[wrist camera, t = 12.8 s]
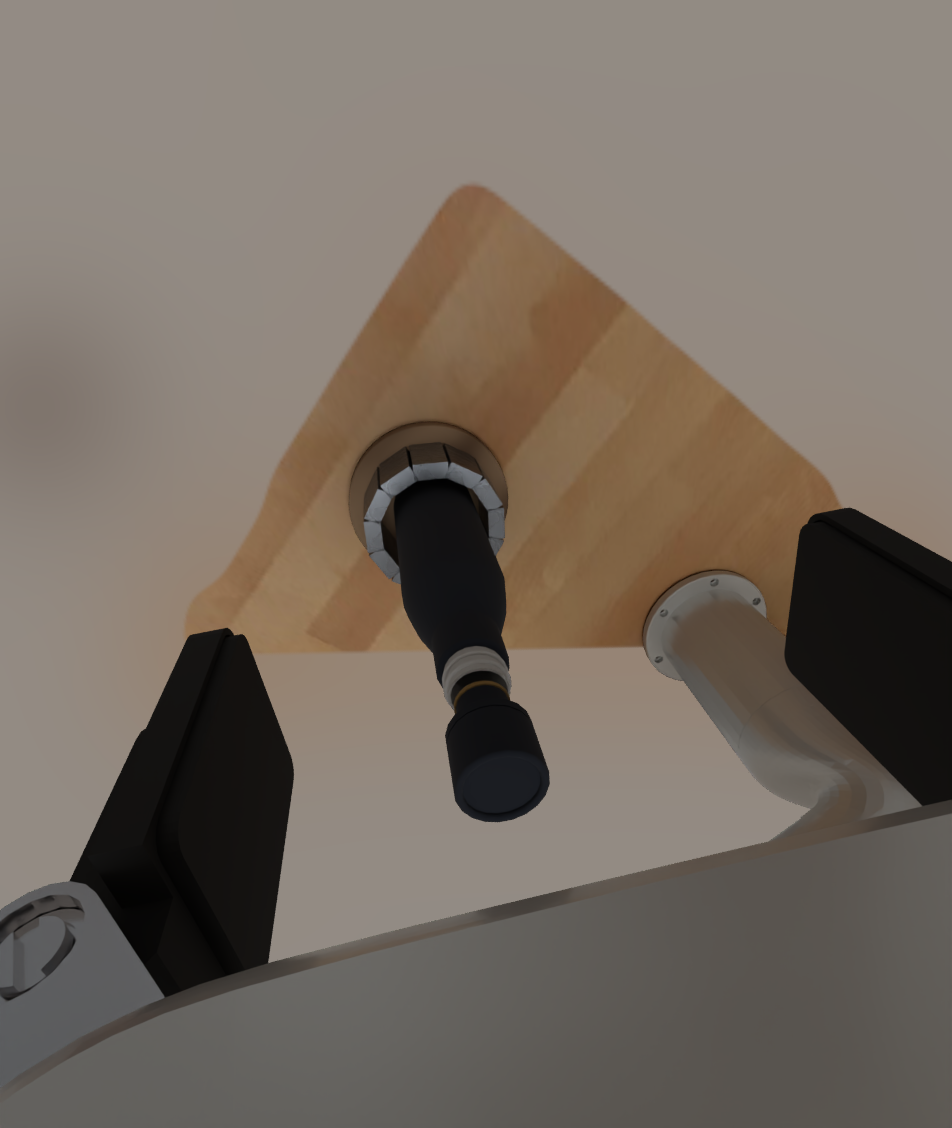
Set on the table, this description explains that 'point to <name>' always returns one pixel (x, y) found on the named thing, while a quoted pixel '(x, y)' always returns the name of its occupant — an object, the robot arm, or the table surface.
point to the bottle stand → (422, 458)
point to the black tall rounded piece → (468, 649)
